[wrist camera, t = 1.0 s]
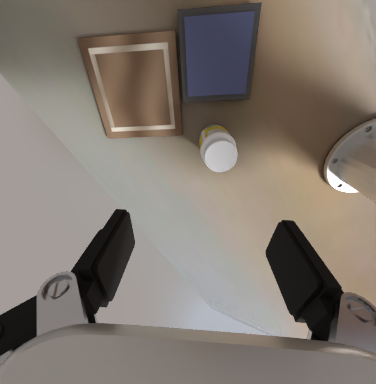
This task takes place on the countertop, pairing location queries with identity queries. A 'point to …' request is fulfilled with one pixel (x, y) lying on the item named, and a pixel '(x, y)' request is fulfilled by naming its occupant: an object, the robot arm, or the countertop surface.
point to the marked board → (135, 83)
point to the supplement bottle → (217, 148)
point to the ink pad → (218, 51)
